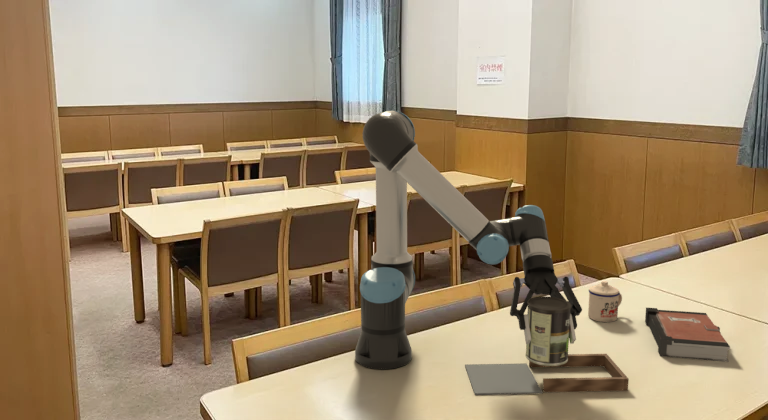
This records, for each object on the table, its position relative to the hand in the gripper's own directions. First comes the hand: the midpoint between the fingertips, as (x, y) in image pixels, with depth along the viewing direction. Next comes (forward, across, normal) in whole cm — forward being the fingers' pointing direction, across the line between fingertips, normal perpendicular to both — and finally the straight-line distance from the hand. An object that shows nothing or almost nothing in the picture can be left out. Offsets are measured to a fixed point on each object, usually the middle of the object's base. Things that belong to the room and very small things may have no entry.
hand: (550, 341), depth 155 cm
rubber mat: (+6, +11, -10) cm, 16 cm away
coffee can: (+2, 0, -6) cm, 6 cm away
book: (-10, -46, -26) cm, 54 cm away
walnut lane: (+5, -7, -10) cm, 14 cm away
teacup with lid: (-24, -30, -40) cm, 56 cm away
